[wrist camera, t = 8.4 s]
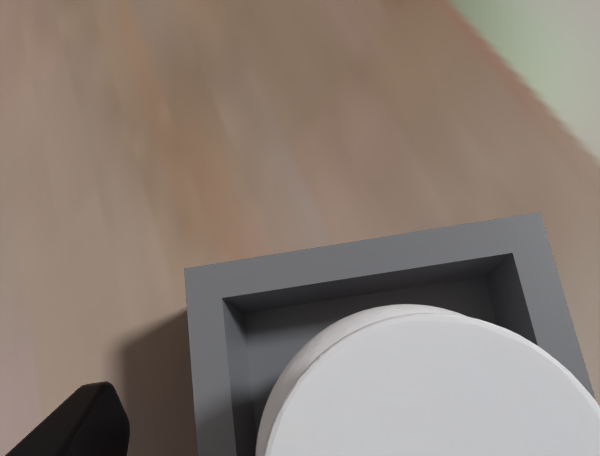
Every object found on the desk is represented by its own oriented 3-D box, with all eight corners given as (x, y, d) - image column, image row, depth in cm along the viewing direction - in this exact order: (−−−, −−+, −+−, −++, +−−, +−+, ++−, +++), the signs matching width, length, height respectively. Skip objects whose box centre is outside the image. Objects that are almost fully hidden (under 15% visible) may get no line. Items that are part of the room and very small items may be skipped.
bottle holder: (587, 579, 15) (667, 643, 11) (248, 621, 16) (214, 697, 12) (500, 249, 18) (539, 211, 14) (218, 293, 19) (183, 268, 15)
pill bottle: (253, 437, 16) (118, 512, 7) (370, 298, 17) (398, 188, 8) (402, 584, 15) (501, 950, 5) (521, 423, 16) (792, 481, 6)
